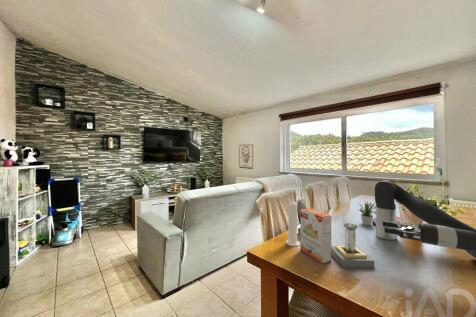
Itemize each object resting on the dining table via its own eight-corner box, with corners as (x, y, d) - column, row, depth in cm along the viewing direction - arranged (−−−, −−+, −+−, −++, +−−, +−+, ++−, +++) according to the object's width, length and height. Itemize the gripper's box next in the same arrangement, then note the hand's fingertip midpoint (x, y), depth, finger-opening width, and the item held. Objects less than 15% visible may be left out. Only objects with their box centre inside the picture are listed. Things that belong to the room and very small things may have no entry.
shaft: (352, 257, 91) (353, 223, 91) (359, 263, 86) (359, 227, 86) (341, 257, 91) (341, 222, 91) (347, 263, 86) (347, 226, 86)
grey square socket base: (356, 252, 95) (356, 244, 95) (374, 267, 82) (374, 257, 82) (329, 252, 95) (329, 243, 95) (343, 267, 82) (343, 257, 82)
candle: (292, 247, 100) (292, 199, 100) (283, 242, 107) (283, 196, 107) (302, 244, 104) (302, 198, 104) (293, 239, 110) (293, 195, 110)
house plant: (386, 228, 128) (386, 203, 128) (365, 228, 128) (365, 203, 128) (371, 221, 142) (372, 199, 142) (352, 221, 142) (353, 199, 142)
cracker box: (299, 250, 97) (299, 208, 97) (308, 248, 100) (309, 207, 100) (321, 264, 84) (321, 216, 84) (331, 261, 87) (332, 215, 87)
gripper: (442, 252, 68) (384, 241, 77) (430, 238, 80) (381, 229, 89) (443, 231, 68) (385, 222, 76) (431, 220, 80) (382, 213, 88)
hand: (383, 226), depth 82 cm, fingers open, 8 cm apart
